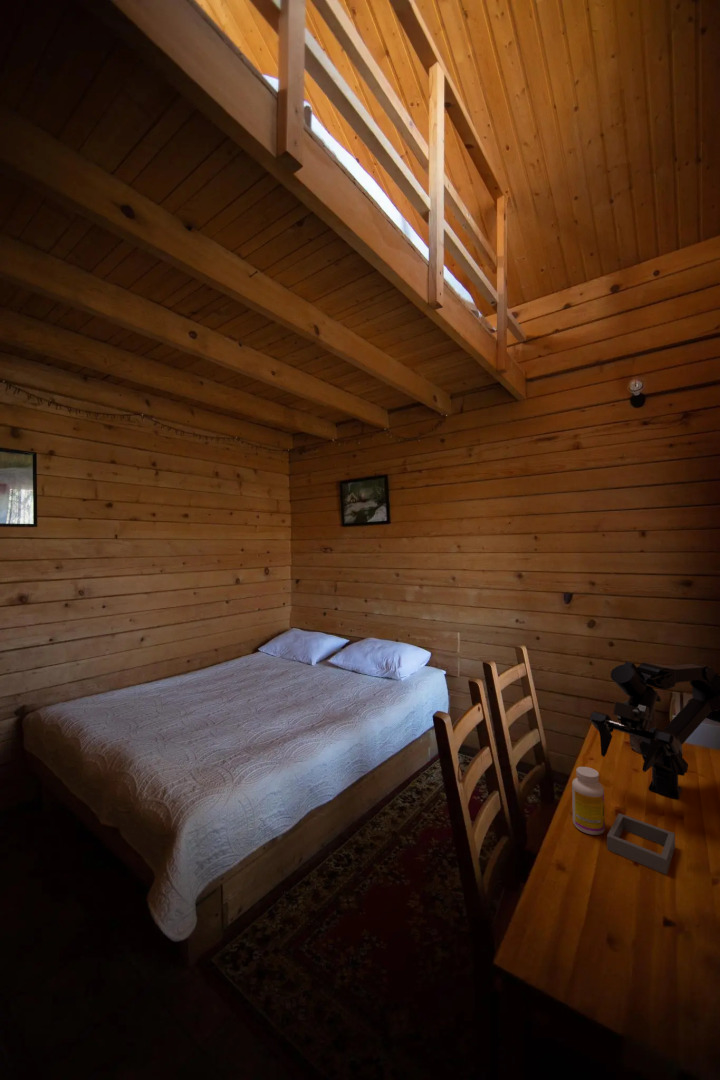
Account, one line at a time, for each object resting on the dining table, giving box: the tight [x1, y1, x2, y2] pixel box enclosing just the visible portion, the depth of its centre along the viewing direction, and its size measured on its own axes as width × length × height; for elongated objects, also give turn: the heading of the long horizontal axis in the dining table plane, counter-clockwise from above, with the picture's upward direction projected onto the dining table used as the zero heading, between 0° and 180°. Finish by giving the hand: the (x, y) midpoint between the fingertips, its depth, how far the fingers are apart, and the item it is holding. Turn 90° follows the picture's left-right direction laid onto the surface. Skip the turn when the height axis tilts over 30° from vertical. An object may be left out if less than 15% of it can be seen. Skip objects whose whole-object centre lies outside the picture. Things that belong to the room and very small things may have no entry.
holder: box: [606, 812, 676, 876], centre depth 93 cm, size 11×11×3 cm
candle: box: [627, 695, 657, 755], centre depth 137 cm, size 8×7×20 cm
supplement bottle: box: [571, 766, 606, 836], centre depth 101 cm, size 7×7×13 cm
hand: (622, 763), depth 105 cm, fingers open, 9 cm apart
